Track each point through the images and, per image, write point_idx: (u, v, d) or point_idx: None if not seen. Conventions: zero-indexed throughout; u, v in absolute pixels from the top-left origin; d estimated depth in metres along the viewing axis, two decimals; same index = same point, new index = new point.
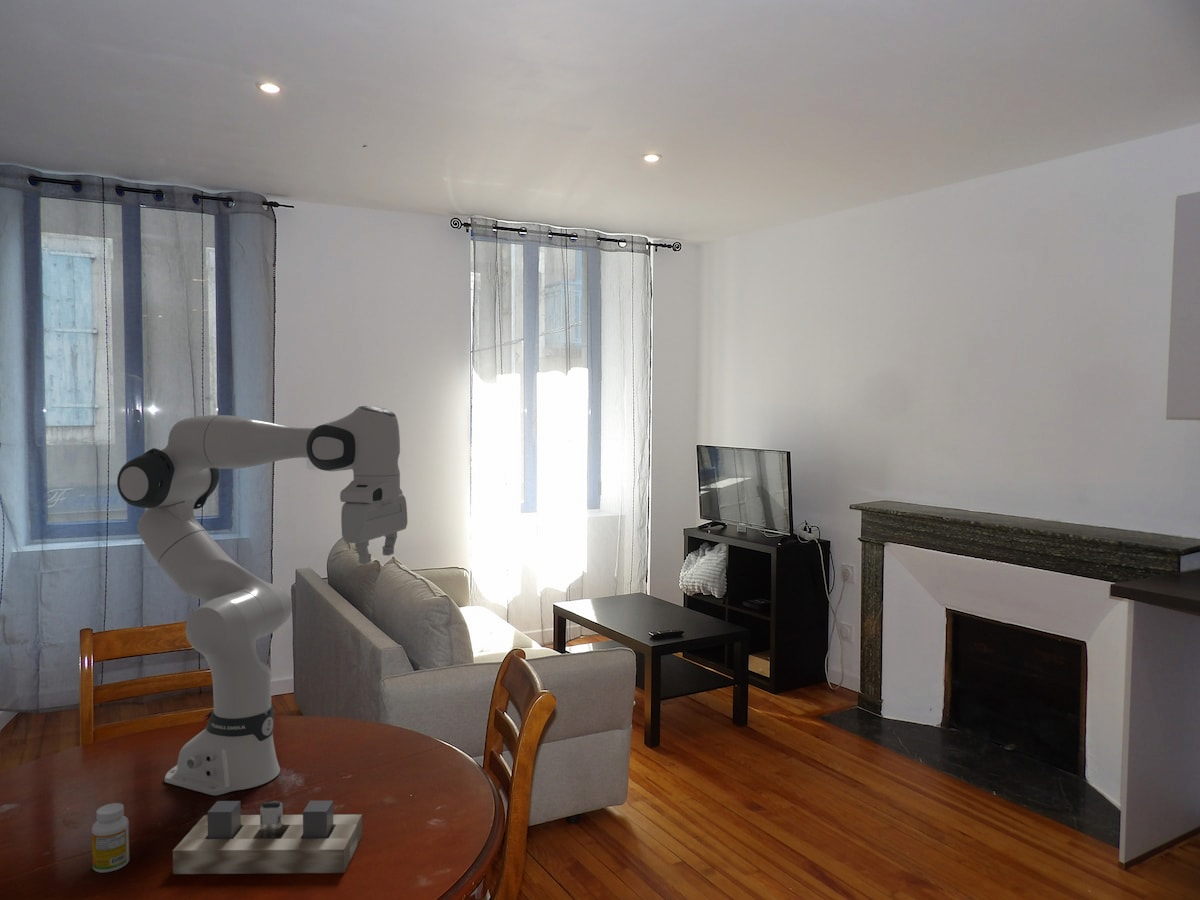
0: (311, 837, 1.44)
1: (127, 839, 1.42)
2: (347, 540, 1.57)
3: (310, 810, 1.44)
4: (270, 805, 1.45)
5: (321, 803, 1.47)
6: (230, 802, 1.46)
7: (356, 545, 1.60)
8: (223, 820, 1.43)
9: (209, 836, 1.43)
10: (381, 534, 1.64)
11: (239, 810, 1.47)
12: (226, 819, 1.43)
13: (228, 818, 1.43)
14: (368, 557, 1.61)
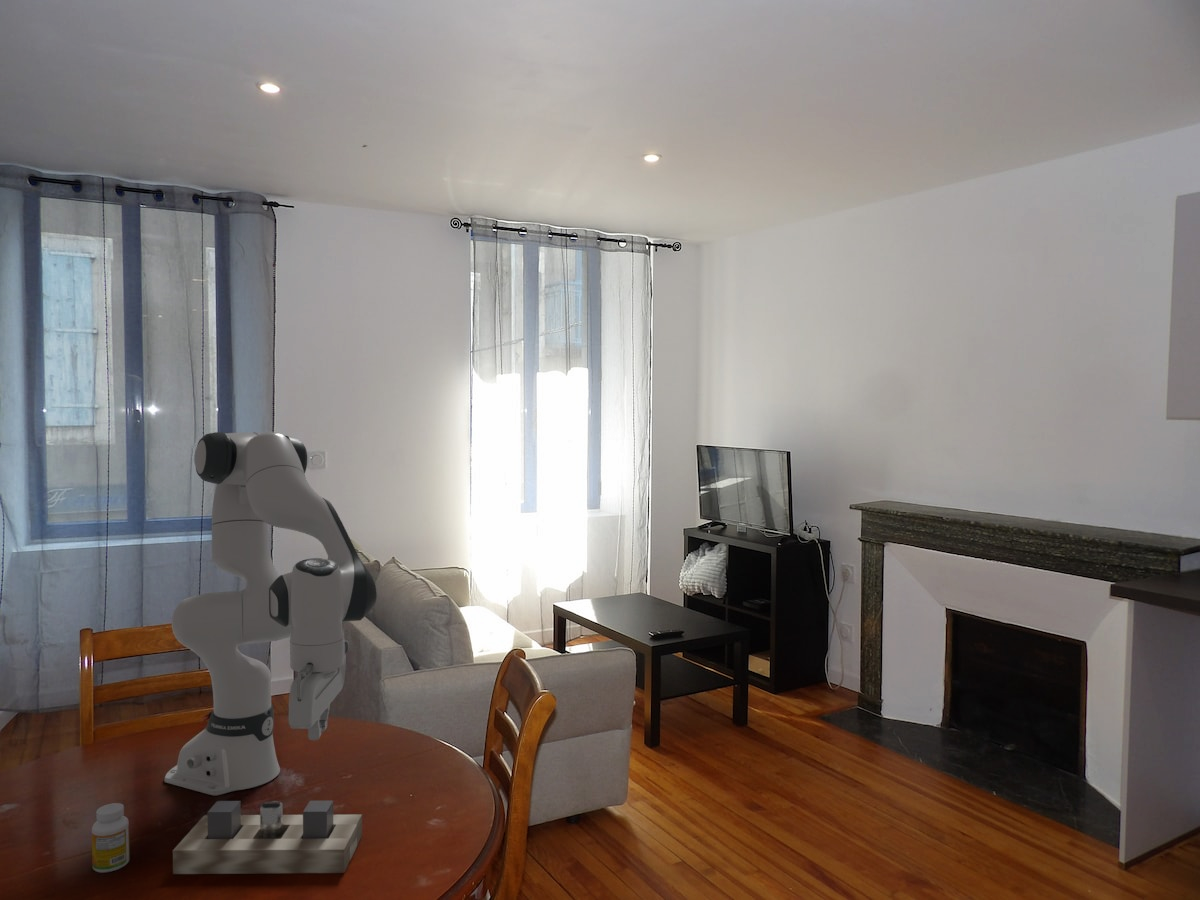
0: (311, 837, 1.44)
1: (127, 839, 1.42)
2: None
3: (310, 810, 1.44)
4: (270, 805, 1.45)
5: (321, 803, 1.47)
6: (230, 802, 1.46)
7: None
8: (223, 820, 1.43)
9: (209, 836, 1.43)
10: None
11: (239, 810, 1.47)
12: (226, 819, 1.43)
13: (228, 818, 1.43)
14: None
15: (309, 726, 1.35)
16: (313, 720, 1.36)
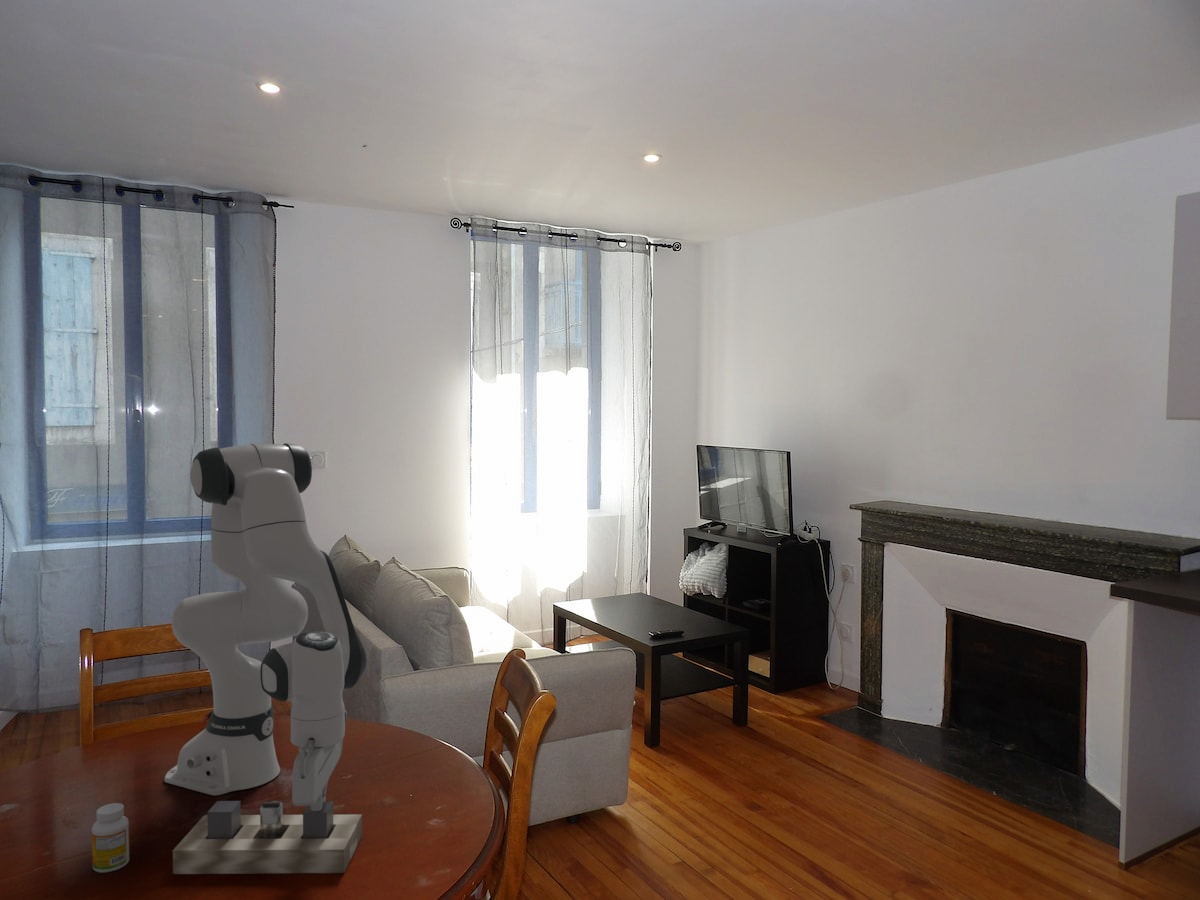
0: (311, 838, 1.44)
1: (127, 839, 1.42)
2: None
3: (310, 810, 1.44)
4: (270, 805, 1.45)
5: None
6: (230, 802, 1.46)
7: None
8: (223, 820, 1.43)
9: (209, 836, 1.43)
10: None
11: (239, 810, 1.47)
12: (226, 819, 1.43)
13: (228, 818, 1.43)
14: None
15: (313, 803, 1.36)
16: (316, 797, 1.37)
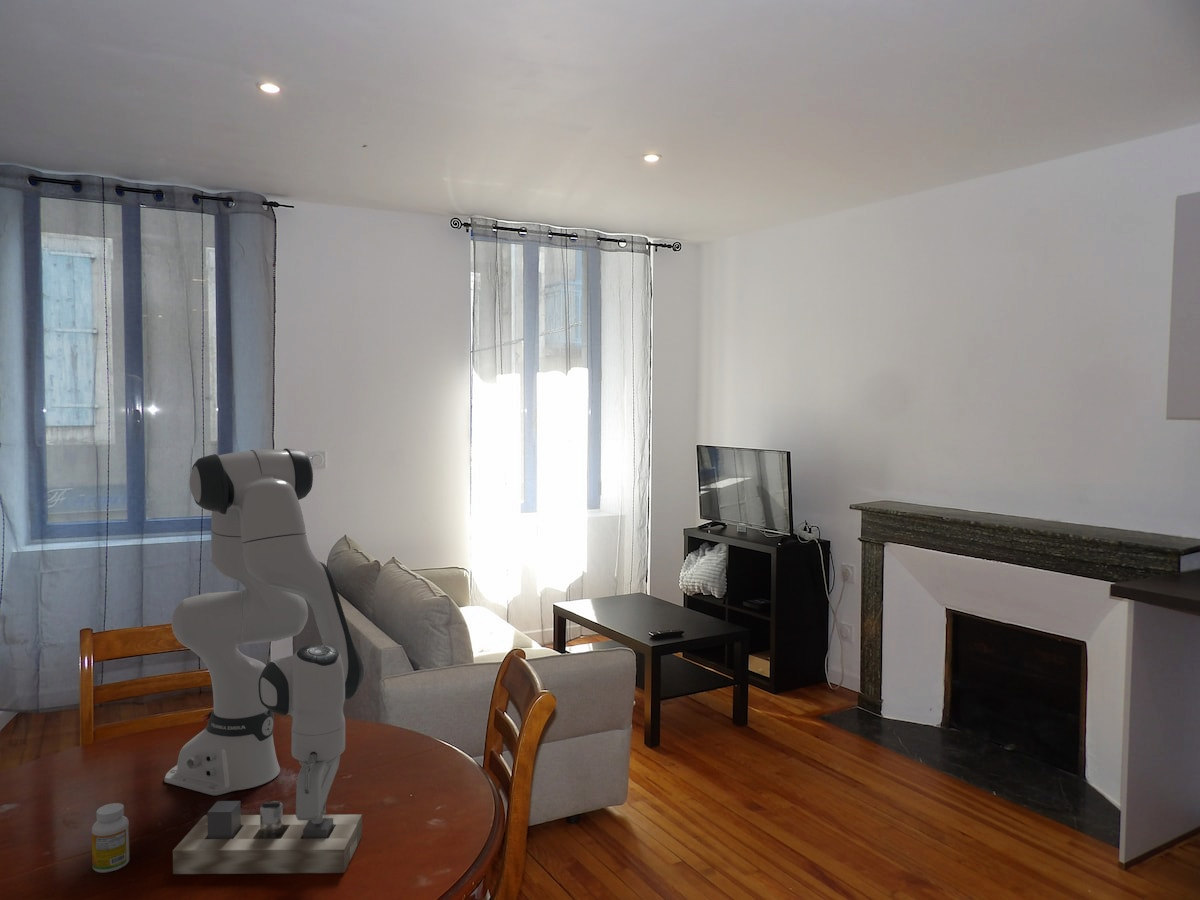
0: None
1: (127, 839, 1.42)
2: None
3: (310, 827, 1.44)
4: (270, 805, 1.45)
5: None
6: (230, 802, 1.46)
7: None
8: (223, 820, 1.43)
9: (209, 836, 1.43)
10: None
11: (239, 810, 1.47)
12: (226, 819, 1.43)
13: (228, 818, 1.43)
14: None
15: (316, 817, 1.37)
16: (320, 811, 1.38)
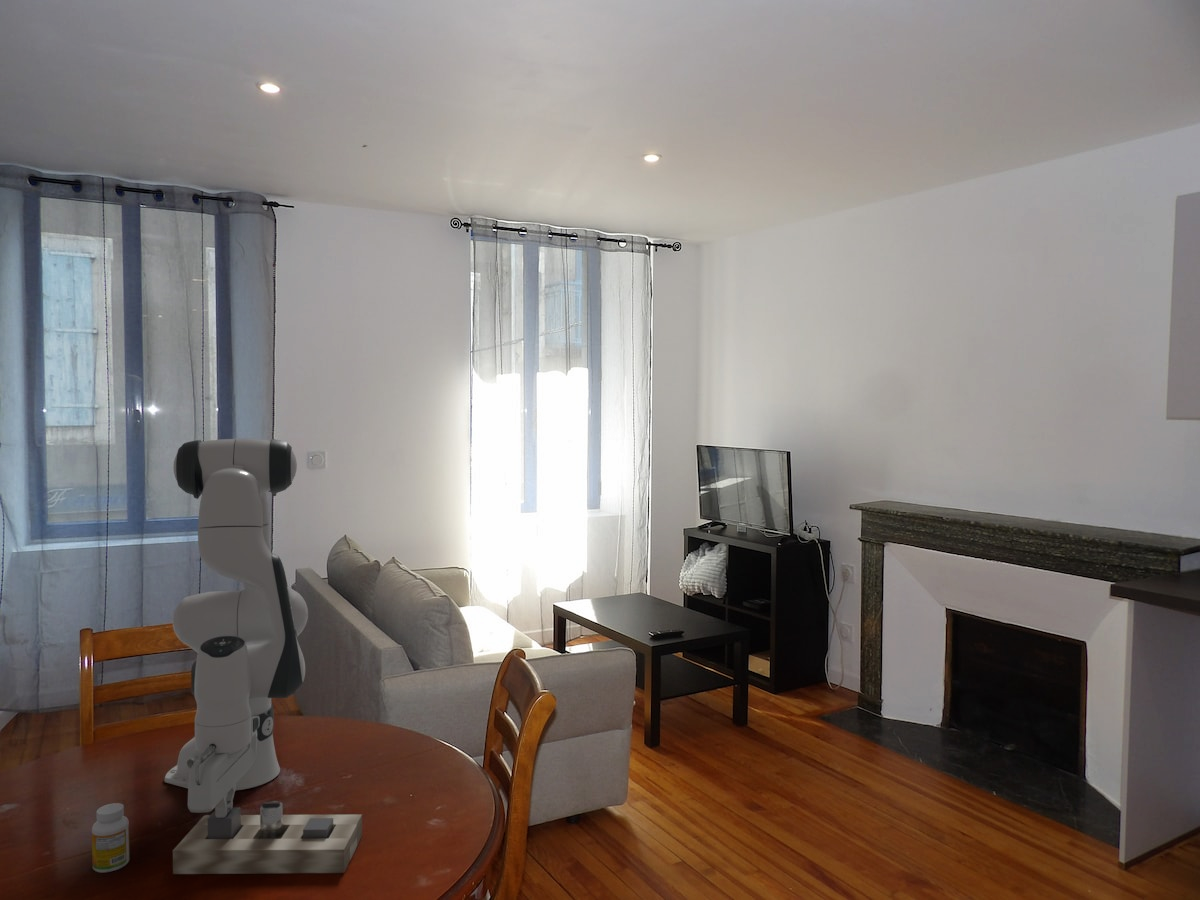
0: None
1: (127, 839, 1.42)
2: None
3: (310, 827, 1.44)
4: (270, 805, 1.45)
5: (321, 821, 1.47)
6: None
7: None
8: (223, 827, 1.43)
9: None
10: None
11: (239, 816, 1.47)
12: (226, 825, 1.43)
13: (228, 825, 1.43)
14: None
15: (208, 810, 1.35)
16: (213, 803, 1.36)
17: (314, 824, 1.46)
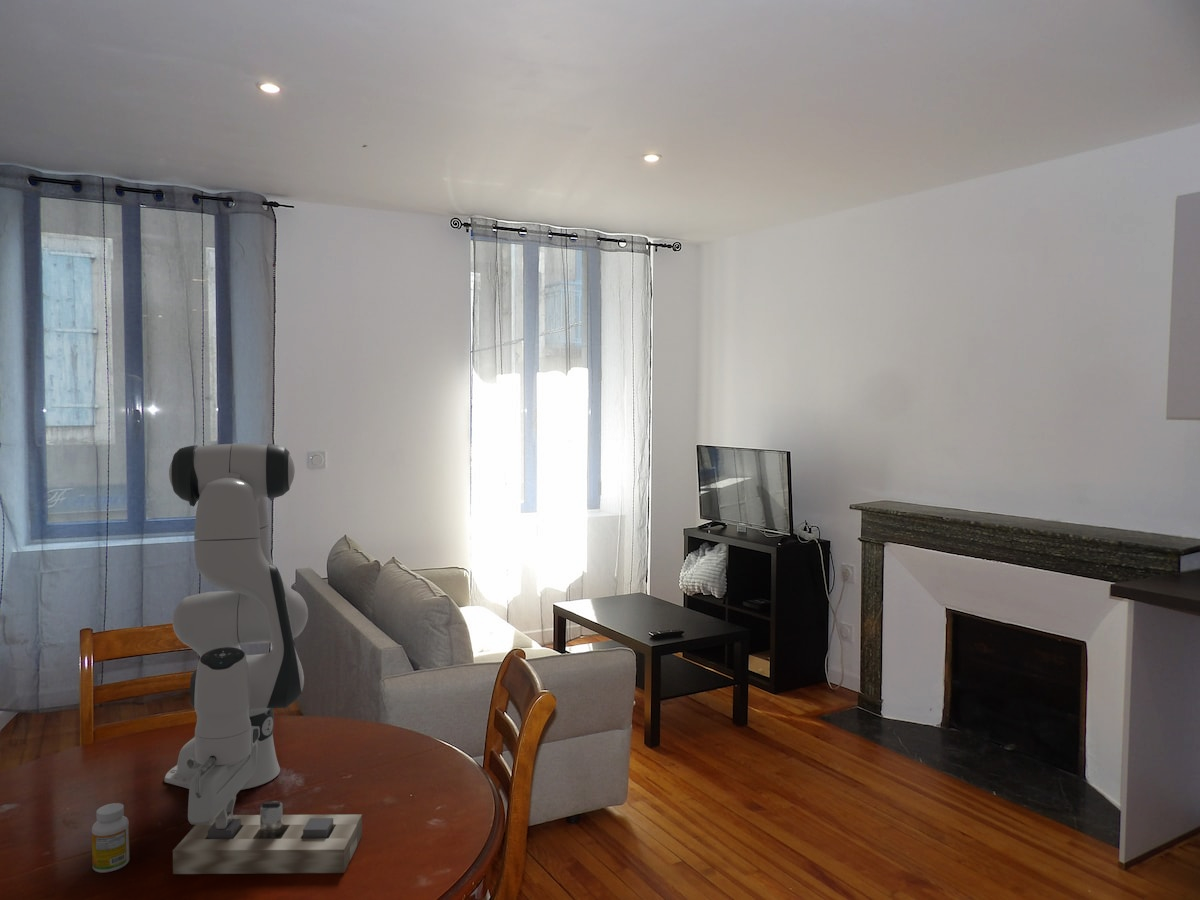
0: None
1: (127, 839, 1.42)
2: None
3: (310, 827, 1.44)
4: (270, 805, 1.45)
5: (321, 821, 1.47)
6: None
7: None
8: None
9: None
10: None
11: (239, 828, 1.47)
12: (226, 837, 1.43)
13: (228, 836, 1.43)
14: None
15: (209, 822, 1.35)
16: (213, 816, 1.36)
17: (314, 824, 1.46)
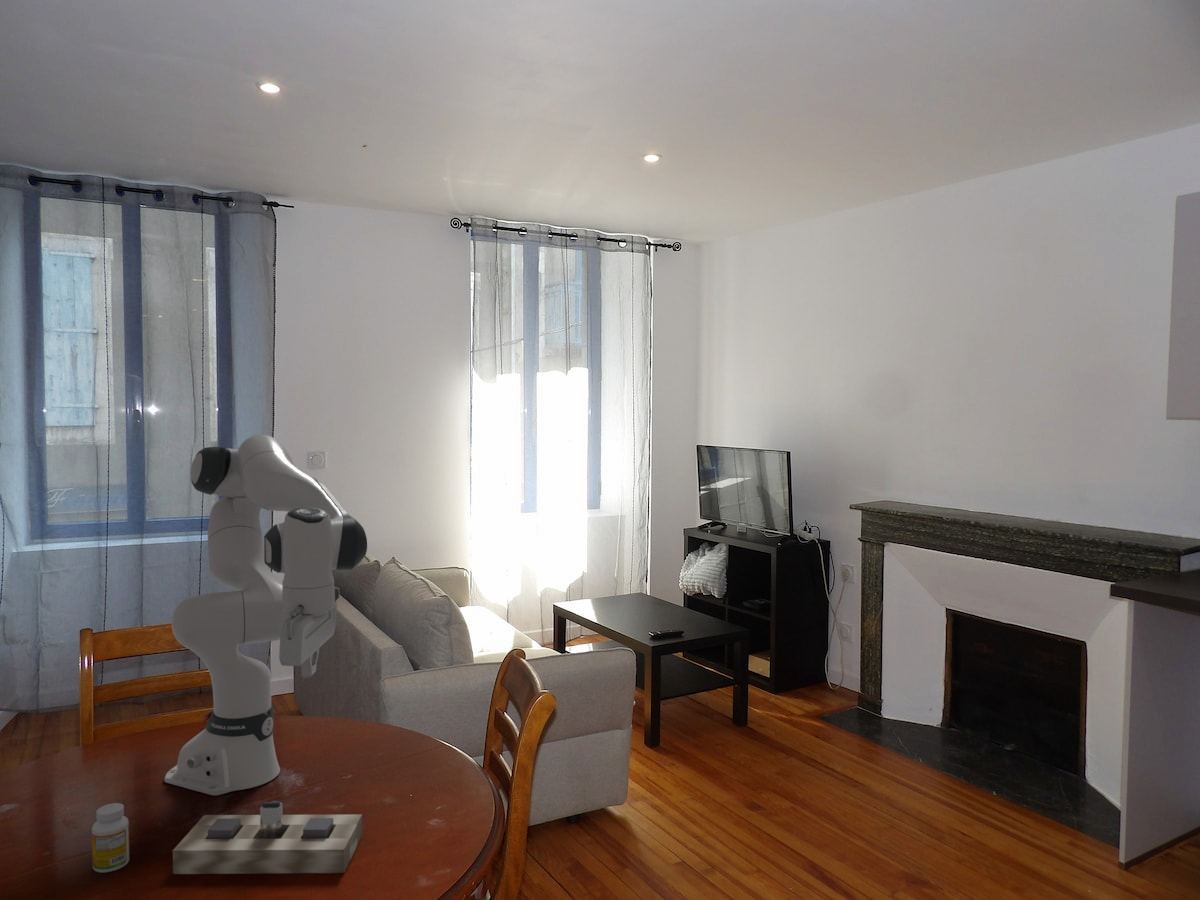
0: None
1: (127, 839, 1.42)
2: None
3: (310, 827, 1.44)
4: (270, 805, 1.45)
5: (321, 821, 1.47)
6: (230, 820, 1.47)
7: None
8: (223, 838, 1.43)
9: None
10: None
11: (239, 828, 1.47)
12: (226, 837, 1.43)
13: (228, 836, 1.43)
14: None
15: (299, 663, 1.43)
16: (303, 658, 1.44)
17: (314, 824, 1.46)
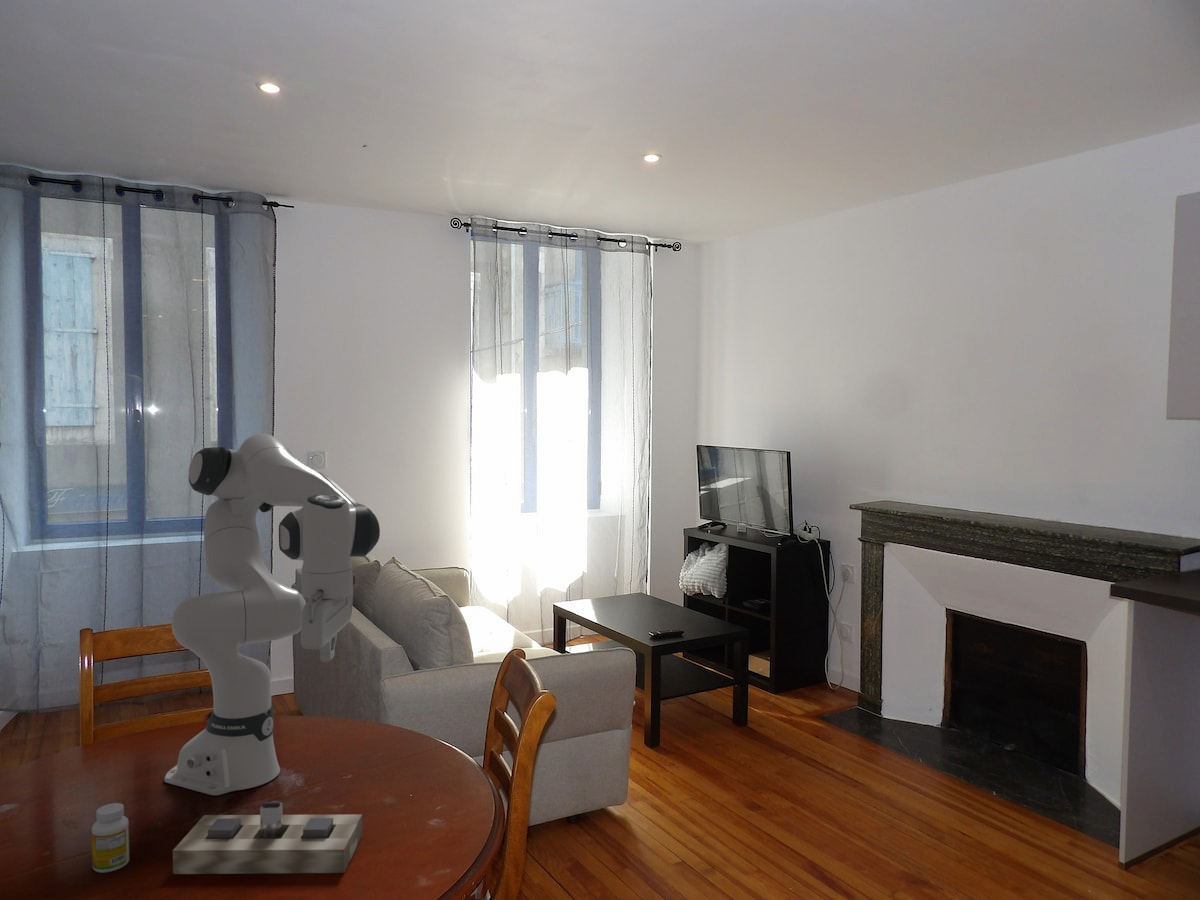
0: None
1: (127, 839, 1.42)
2: None
3: (310, 827, 1.44)
4: (270, 805, 1.45)
5: (321, 821, 1.47)
6: (230, 820, 1.47)
7: None
8: (223, 838, 1.43)
9: None
10: None
11: (239, 828, 1.47)
12: (226, 837, 1.43)
13: (228, 836, 1.43)
14: None
15: (320, 646, 1.45)
16: (324, 641, 1.46)
17: (314, 824, 1.46)
